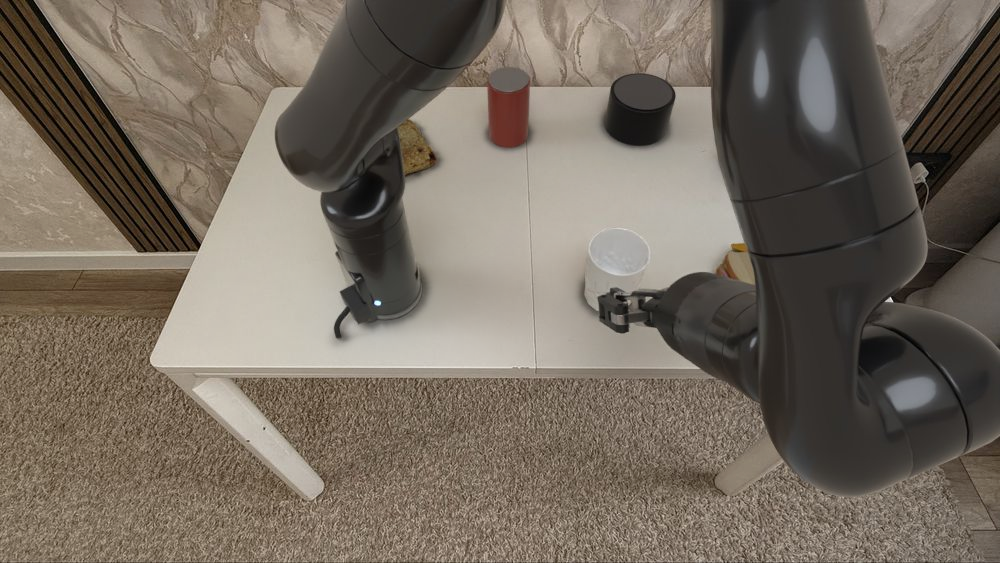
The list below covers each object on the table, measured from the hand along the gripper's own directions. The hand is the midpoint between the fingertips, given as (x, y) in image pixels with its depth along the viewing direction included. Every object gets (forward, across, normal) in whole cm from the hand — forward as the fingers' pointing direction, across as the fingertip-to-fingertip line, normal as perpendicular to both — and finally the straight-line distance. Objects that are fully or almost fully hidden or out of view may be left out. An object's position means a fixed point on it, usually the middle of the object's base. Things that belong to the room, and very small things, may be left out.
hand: (652, 292), depth 60 cm
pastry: (+43, +31, -21) cm, 57 cm away
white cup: (+19, 0, +4) cm, 20 cm away
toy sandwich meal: (+19, -22, +5) cm, 29 cm away
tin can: (+44, +9, -23) cm, 51 cm away
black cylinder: (+44, -14, -22) cm, 51 cm away
